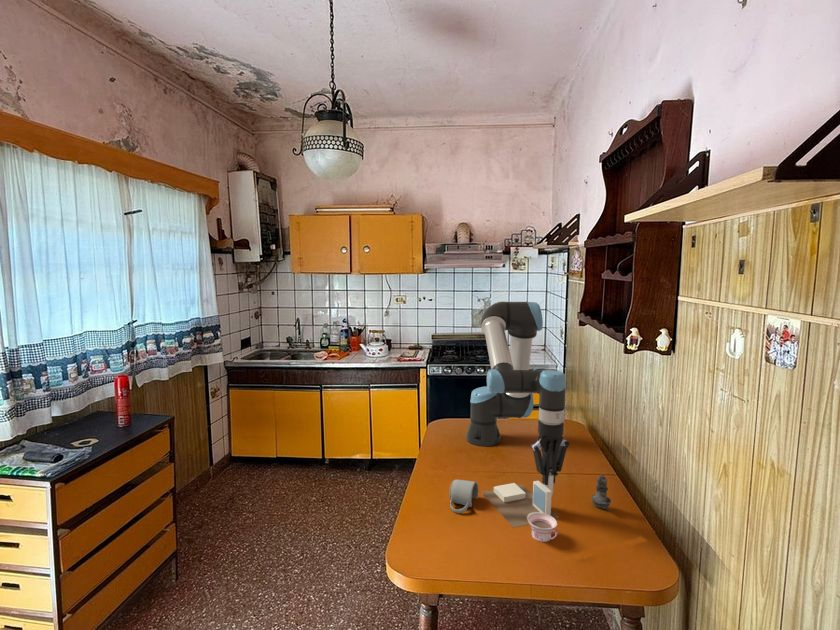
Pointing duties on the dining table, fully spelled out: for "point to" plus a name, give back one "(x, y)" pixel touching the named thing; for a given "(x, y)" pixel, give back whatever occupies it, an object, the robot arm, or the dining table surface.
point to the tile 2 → (541, 498)
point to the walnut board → (514, 507)
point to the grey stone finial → (601, 494)
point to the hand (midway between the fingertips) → (548, 493)
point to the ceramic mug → (462, 494)
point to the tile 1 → (509, 492)
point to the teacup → (542, 526)
